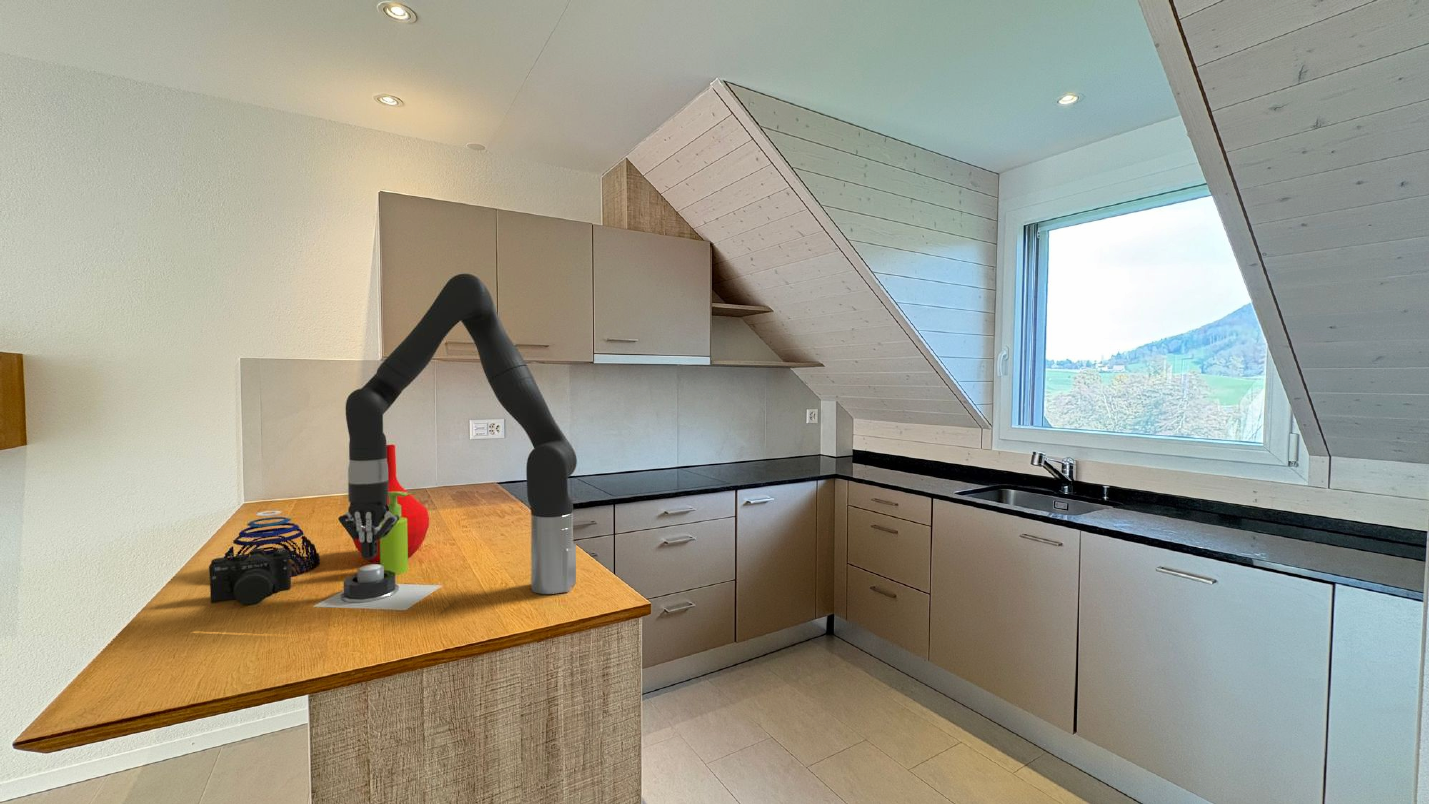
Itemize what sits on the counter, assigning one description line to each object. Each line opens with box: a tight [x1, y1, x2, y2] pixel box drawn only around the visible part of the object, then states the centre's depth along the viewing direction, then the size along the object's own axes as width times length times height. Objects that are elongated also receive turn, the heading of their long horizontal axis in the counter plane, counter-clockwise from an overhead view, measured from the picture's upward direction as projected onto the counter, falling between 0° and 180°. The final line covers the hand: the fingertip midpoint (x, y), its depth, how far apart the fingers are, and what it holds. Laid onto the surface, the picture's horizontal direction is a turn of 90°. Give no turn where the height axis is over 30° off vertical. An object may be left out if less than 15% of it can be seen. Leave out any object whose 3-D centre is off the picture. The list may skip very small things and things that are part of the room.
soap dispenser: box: [379, 491, 411, 576], centre depth 142 cm, size 6×7×20 cm
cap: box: [356, 563, 384, 583], centre depth 128 cm, size 5×5×5 cm
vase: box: [352, 444, 430, 563], centre depth 155 cm, size 18×18×30 cm
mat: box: [312, 583, 443, 611], centre depth 127 cm, size 20×14×1 cm
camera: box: [208, 547, 292, 606], centre depth 125 cm, size 14×11×10 cm
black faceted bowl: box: [341, 570, 399, 603], centre depth 128 cm, size 11×11×4 cm
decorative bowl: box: [223, 510, 321, 578], centre depth 144 cm, size 20×20×14 cm
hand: (369, 557), depth 128 cm, fingers closed
